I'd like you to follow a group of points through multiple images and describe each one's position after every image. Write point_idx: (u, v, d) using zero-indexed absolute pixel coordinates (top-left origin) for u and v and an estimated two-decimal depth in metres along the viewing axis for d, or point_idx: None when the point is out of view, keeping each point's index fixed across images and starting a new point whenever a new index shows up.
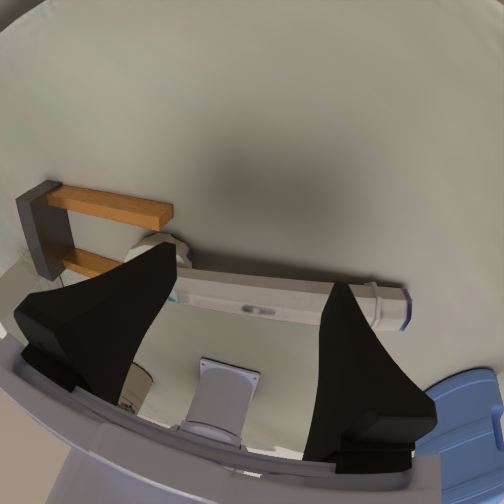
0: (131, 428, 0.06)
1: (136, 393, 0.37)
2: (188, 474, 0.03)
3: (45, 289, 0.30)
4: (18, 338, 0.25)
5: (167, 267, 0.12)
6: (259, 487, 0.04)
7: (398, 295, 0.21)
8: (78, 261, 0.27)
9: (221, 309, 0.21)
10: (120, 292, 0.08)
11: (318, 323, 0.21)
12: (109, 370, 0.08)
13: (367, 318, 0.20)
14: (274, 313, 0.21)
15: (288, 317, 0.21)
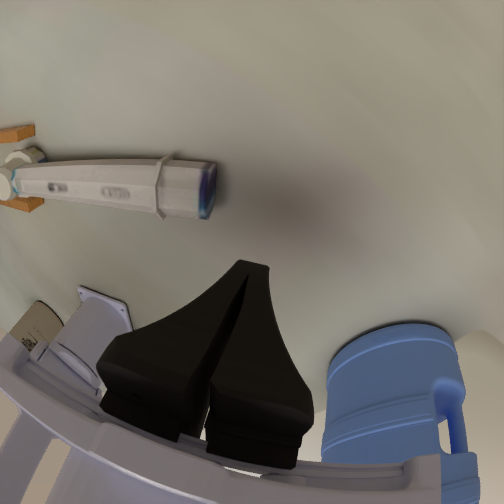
0: (131, 428, 0.06)
1: (42, 332, 0.34)
2: (188, 474, 0.03)
3: None
4: None
5: None
6: (259, 487, 0.04)
7: (194, 165, 0.18)
8: None
9: (38, 191, 0.18)
10: (222, 323, 0.08)
11: (102, 198, 0.18)
12: (203, 406, 0.08)
13: (145, 187, 0.17)
14: (67, 189, 0.18)
15: (77, 192, 0.18)
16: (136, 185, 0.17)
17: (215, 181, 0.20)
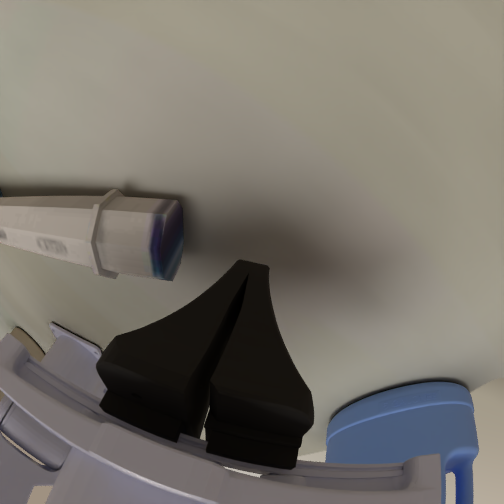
0: (131, 428, 0.06)
1: None
2: (188, 474, 0.03)
3: None
4: None
5: None
6: (259, 487, 0.04)
7: (145, 207, 0.12)
8: None
9: None
10: (222, 323, 0.08)
11: (39, 250, 0.12)
12: (203, 406, 0.08)
13: (81, 242, 0.11)
14: (6, 236, 0.12)
15: (16, 241, 0.12)
16: (71, 238, 0.11)
17: (181, 223, 0.14)
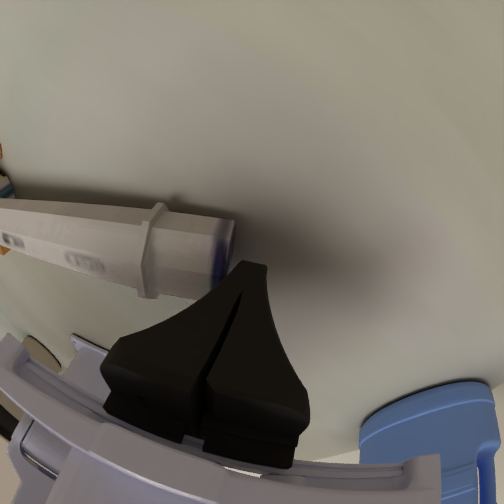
0: (131, 428, 0.06)
1: None
2: (188, 474, 0.03)
3: None
4: None
5: None
6: (259, 487, 0.04)
7: (202, 227, 0.12)
8: None
9: None
10: (225, 324, 0.08)
11: (67, 265, 0.12)
12: None
13: (125, 262, 0.11)
14: (23, 245, 0.11)
15: (36, 252, 0.11)
16: (112, 256, 0.11)
17: (232, 243, 0.14)
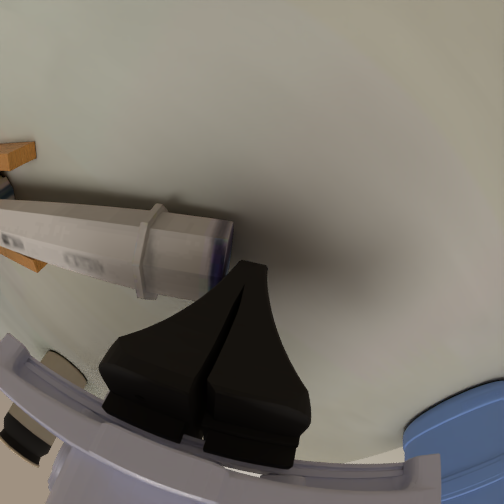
0: (131, 428, 0.06)
1: None
2: (188, 474, 0.03)
3: None
4: None
5: None
6: (259, 487, 0.04)
7: (200, 228, 0.12)
8: None
9: None
10: (224, 324, 0.08)
11: (66, 266, 0.12)
12: (206, 407, 0.08)
13: (124, 263, 0.11)
14: (23, 246, 0.11)
15: (35, 253, 0.11)
16: (111, 258, 0.11)
17: (231, 244, 0.14)
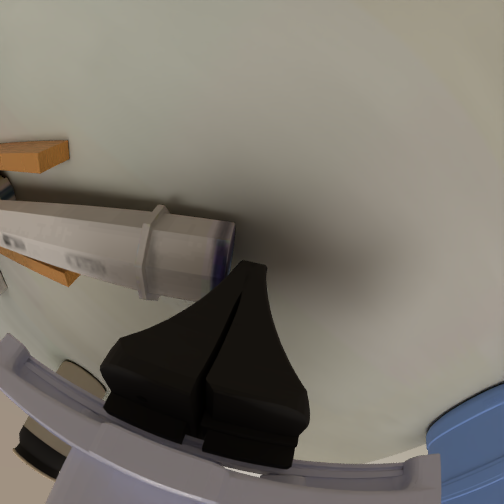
0: (131, 428, 0.06)
1: None
2: (188, 474, 0.03)
3: None
4: None
5: None
6: (259, 487, 0.04)
7: (202, 229, 0.12)
8: None
9: None
10: (226, 324, 0.08)
11: (68, 267, 0.12)
12: None
13: (126, 264, 0.11)
14: (24, 247, 0.11)
15: (37, 254, 0.12)
16: (113, 259, 0.11)
17: (232, 245, 0.14)
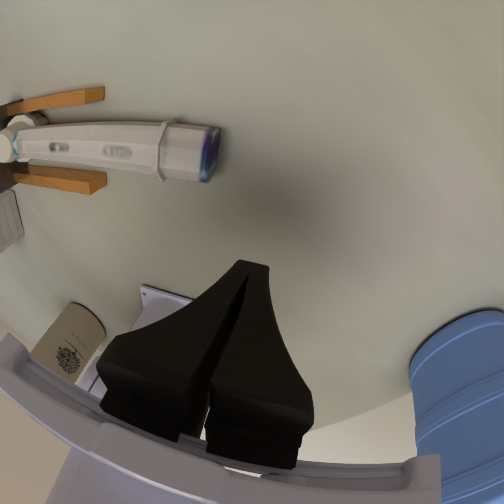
0: (131, 428, 0.06)
1: (82, 339, 0.33)
2: (188, 474, 0.03)
3: (0, 215, 0.25)
4: None
5: None
6: (259, 487, 0.04)
7: (198, 128, 0.17)
8: (26, 171, 0.22)
9: (38, 152, 0.17)
10: (222, 323, 0.08)
11: (103, 157, 0.17)
12: (203, 406, 0.08)
13: (147, 146, 0.16)
14: (68, 148, 0.17)
15: (78, 151, 0.17)
16: (139, 143, 0.16)
17: (217, 147, 0.19)
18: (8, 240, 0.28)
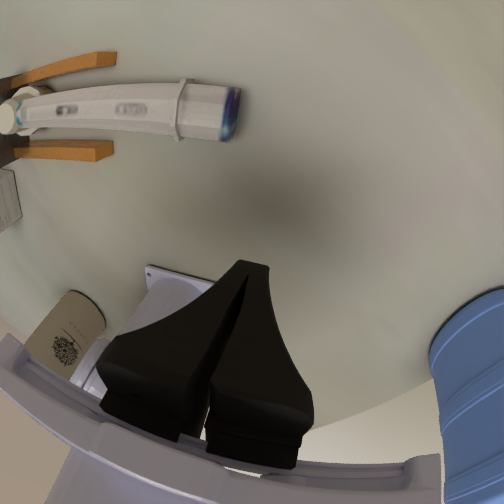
0: (131, 428, 0.06)
1: (80, 328, 0.31)
2: (188, 474, 0.03)
3: None
4: None
5: None
6: (259, 487, 0.04)
7: (219, 86, 0.15)
8: (27, 145, 0.20)
9: (44, 118, 0.15)
10: (222, 323, 0.08)
11: (114, 116, 0.15)
12: (203, 406, 0.08)
13: (165, 101, 0.15)
14: (77, 110, 0.15)
15: (88, 112, 0.15)
16: (156, 99, 0.15)
17: (237, 109, 0.18)
18: (6, 223, 0.26)
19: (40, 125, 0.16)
